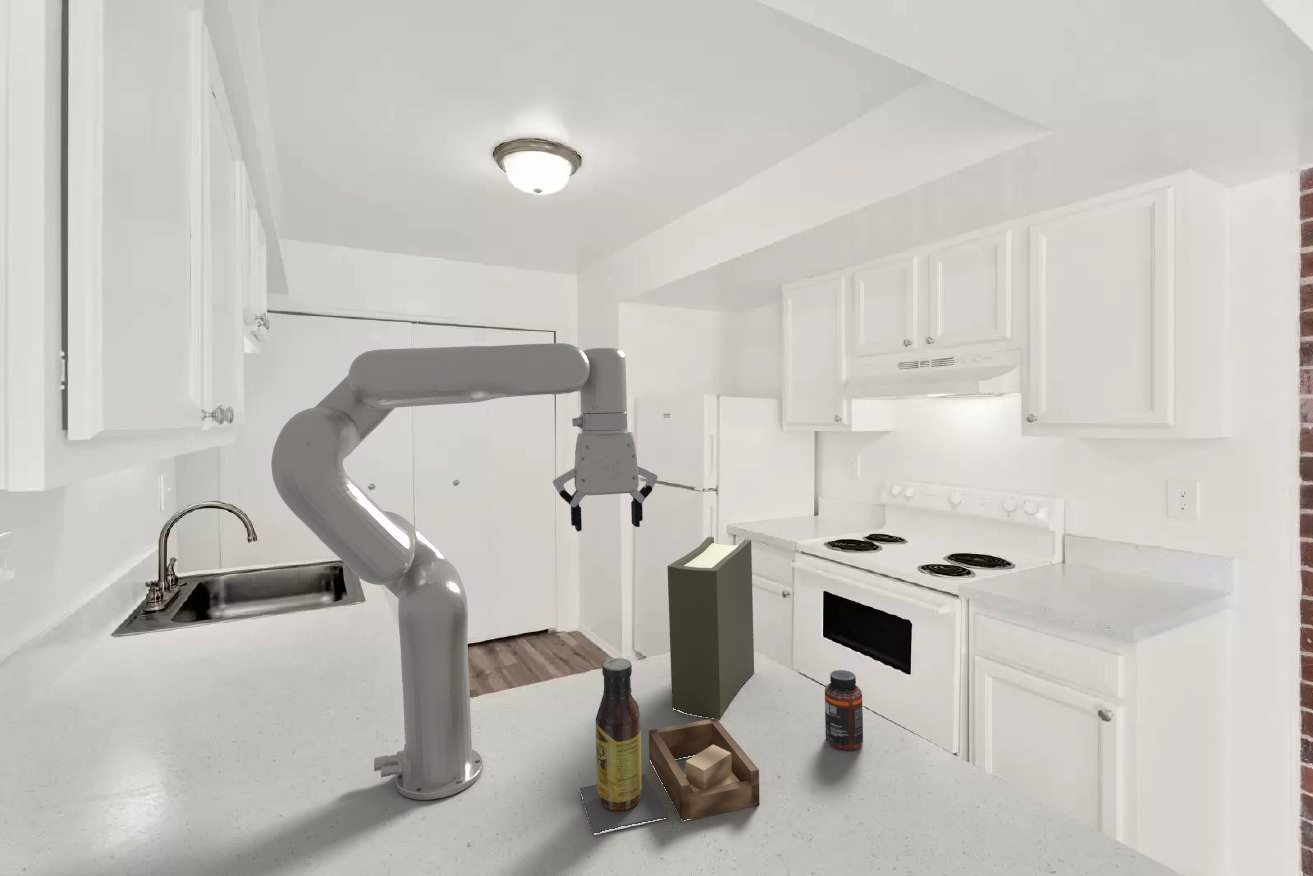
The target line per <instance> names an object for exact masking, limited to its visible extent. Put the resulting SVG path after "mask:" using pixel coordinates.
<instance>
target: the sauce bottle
mask: <svg viewBox="0 0 1313 876" xmlns="http://www.w3.org/2000/svg"><path fill="white" fill-rule="evenodd" d="M601 666H602V667H601V669H602V670H601V674H602V676H603V693H602V694H603V695H602V698H601V701H600V703H599V706H598V709H597V713H596V716H595V749H596V755H595V756H596V784H597V790H598V796H599V800H600V802H601V804H602V805H603V806H604V807H605V808H606V809H608V810H615V811H621V810H628V809H630V808H632V807H634V806H636V805H637V803H638V802H639V800H640V796H641V788H642V778H641V775H642V733H641V731H642V730H641V724H640V722H641V721H640V718H641V717H640V715H641V714H640V707H639V704H638V702H637V701H636V700H635V698H634V697H633V694H632V686H631V684H632V683H631V676H632V673H633V672H632V671H633V670H632V668H633V667H632V662H631V661H630V660H629V659H626V658H622V657H614V658H609V659H606V661H605V662H603V663H602V665H601Z"/></svg>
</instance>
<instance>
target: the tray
mask: <svg viewBox="0 0 1313 876" xmlns="http://www.w3.org/2000/svg"><path fill="white" fill-rule="evenodd" d="M712 745H715V746H717V747H720V748H722V749H724V750H726V751H728V752H730V753H731V759H732V773H733V774H734V775H735V776H736V777H737V778H738V780H739V781H740V782H739V783H734V784H729V785H725V786H720V787H715V788H710V789H706V790H701V791H696V792H692V793H690V783H689V782H688V780H687V779H686V777H685V776H686V774H685V773H684V771H682V769H681V767H680V766H679V764H678V762H677V760H676V761H675V759H679V758H683V757H688V756H693V755H697V754H698V753H700V752H702V751H703V750H705V749H707V748H708V747H710V746H712ZM648 747H649V748H648V753H649V759H650V760H651V762H652V765H653V766H654V768H655V770H656V772H657V774H658V776H659V778H660V780H661V782H662V783H663V785H662V787H663V786H664V787H665V789H666V791H667V793H668V795H669V797H670V798H669V797H668V798H669V800H670V799H671V800H670V802H671V801H672V802H673V804H672V805H674V806H675V808H676V810H677V811H676V810H675V811H676V813H677V812H678V813H677V815H678V814H679V815H678V817H679V816H680V817H679V819H680V818H681V819H682V821H684V820H687V819H694V820H698V819H702V817H703V818H706V817H711V815H712V816H714V815H720V814H725V813H729V812H732V811H737V810H741V809H746V808H751V807H755V806H759V805H760V769H759V768H758V767H757V765H756V764H755V763H754V762H753V761H752V759H751V758H750V757H749V755H748V754H747V753H746V752H745V751H744V750H743V748H742V747H741V746H740V745H739V744H738V742H737V741H736V740H735V739H734V738H733V736H732V735H731V734H730V733H729V732H728V731H727V729H726V728H725V726H724V725H723V724H722V723H721V722H720V721H719V719H717V718H714V719H709V718H708V719H704V720H699V721H694V722H693V721H692V722H687V723H681V724H676V725H671V726H665V727H661V728H660V727H659V728H653V729H649V730H648ZM652 765H651V766H652ZM656 772H655V773H656ZM657 774H656V775H657ZM658 776H657V777H658ZM659 778H658V779H659ZM660 780H659V781H660ZM661 782H660V783H661ZM664 787H663V788H664ZM665 789H664V790H665ZM666 791H665V792H666ZM667 793H666V794H667ZM668 795H667V796H668ZM672 802H671V803H672ZM674 806H673V807H674ZM675 808H674V809H675ZM724 812H725V813H724ZM697 818H698V819H697ZM681 819H680V820H681ZM682 821H681V822H682Z"/></svg>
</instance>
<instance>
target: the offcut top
mask: <svg viewBox="0 0 1313 876" xmlns="http://www.w3.org/2000/svg"><path fill="white" fill-rule="evenodd" d="M730 774H732V759H731V753H730V752H728V751H726V750H724V749H722V748H720V747H717V746H715V745H712V746H710V747H708V748H707V749H705V750H703V751H702V752H700V753H698V754H697V755H695V756H693V757H692V758H687V759H686V760H685V776H686V779H687V780H688V782H689V783H690V784H691V785H693V786H695V787H697V788H698V789H700V790H706V789H709V788H711V787H712V786H714V785H715V784H717V783H718V782H720V781H721V780H723V779H724V778H726V777H727V776H729V775H730Z"/></svg>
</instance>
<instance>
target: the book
mask: <svg viewBox="0 0 1313 876" xmlns="http://www.w3.org/2000/svg"><path fill="white" fill-rule="evenodd" d="M752 554H753V553H752V540H751V539H744V540H743V541H742V542H741V543H739V544H737V545H736V544H735V545H731V544H720V543H715V537H714V536H707V537H706V538H705V539H704V541H703V542H702V543H701V544H699V546H698V547H696V548H695V549H694V550H691V551H690V552H689V553H687V554H685V555H683V556H682V557H680V558H679V559H677V560H675V561H673V562H672V563H670V564H669V565H667V592H668V594H667V595H668V596H667V597H668V617H669V618H668V619H669V621H668V622H669V623H668V624H669V625H668V626H669V647H670V648H669V651H670V652H669V654H670V655H669V656H670V657H669V658H670V678H671V681H670V683H671V685H670V686H671V707H672V708H674V709H676V710H680V711H682V712H684V713H687V714H692V715H697V716H702V717H708V718H707V719H709V718H717V720H722V718H723V716H724V715H725V713H726V710H727V709H728V707H729V706H730V704H731V702H732V701H733V700H734V697H735V696H736V695H737V694H738V692H739V690H740V689H741V688H742V687H743V685H744V684H745V683H746V682H747V681H748V680H749V679H750V678H751V677H752V676H753V675H754V674H755V652H754V651H755V650H754V649H755V647H754V646H755V645H754V641H755V639H754V611H753V610H754V605H753V604H754V603H753V599H754V598H753V566H752V565H753V560H752V559H753V558H752V557H753V556H752ZM672 708H671V709H672ZM721 717H722V718H721Z"/></svg>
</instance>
